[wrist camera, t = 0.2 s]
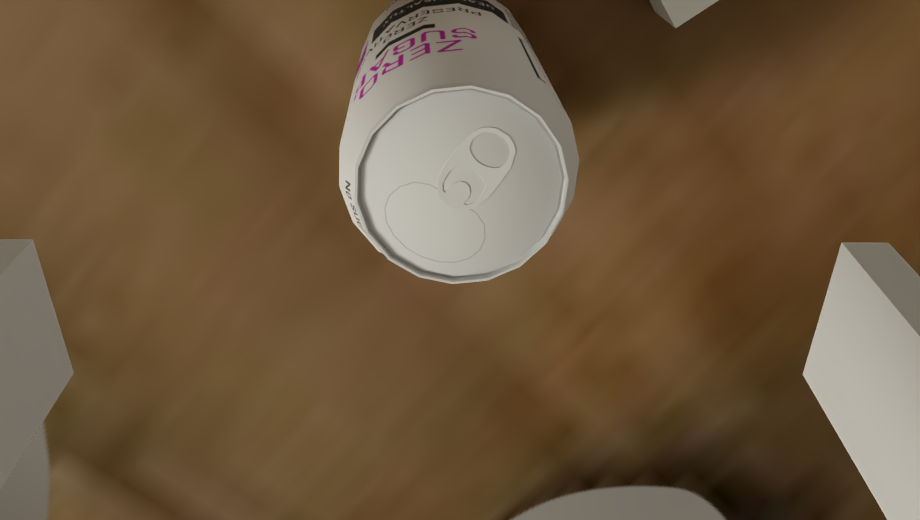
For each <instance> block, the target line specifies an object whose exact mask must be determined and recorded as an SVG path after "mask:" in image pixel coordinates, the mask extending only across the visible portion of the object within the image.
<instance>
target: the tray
mask: <svg viewBox="0 0 920 520" xmlns="http://www.w3.org/2000/svg"><path fill="white" fill-rule="evenodd" d="M717 1H719V0H649V2H650V4H651V6H652V8H653V9H654V11H655V13H657V14H658V15H659V16H661V17H662V18H663V19H664V20H666V21H667V22H668V23H670V24H671V25H672V26H673V27H675V28H677V27H679V26H680V25H682V24H683V23H685V22H686V21H688V20H689V19H691V18H692V17H694V16H696V15H697V14H699V13H700V12H702V11H703V10H705V9H706V8H708V7H709V6H711V5H712V4H714V3H715V2H717Z"/></svg>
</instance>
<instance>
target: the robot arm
mask: <svg viewBox="0 0 920 520" xmlns="http://www.w3.org/2000/svg"><path fill="white" fill-rule="evenodd" d="M73 373H74V372H73V369H72V366H71V362H70V359H69V356H68V353H67V349H66V346H65V343H64V340H63V336H62V333H61V330H60V327H59V323H58V320H57V317H56V314H55V310H54V307H53V304H52V301H51V297H50V294H49V291H48V288H47V284H46V281H45V278H44V275H43V271H42V268H41V265H40V262H39V258H38V255H37V252H36V249H35V245H34V242H33V239H0V489H1V487H2V486H3V484H4V482H5V481H6V480H7V478H8V476H9V475H10V473H11V472H12V470H13V469H14V467H15V465H16V464H17V462H18V461H19V459H20V457H21V456H22V454H23V453H24V451H25V449H26V448H27V446H28V445H29V443H30V442H31V440H32V438H33V437H34V435H35V434H36V432H37V430H38V429H39V427H40V426H41V424H42V423H43V421H44V419H45V418H46V416H47V415H48V413H49V411H50V410H51V408H52V407H53V405H54V403H55V402H56V400H57V399H58V397H59V396H60V394H61V392H62V391H63V389H64V388H65V386H66V384H67V383H68V381H69V380H70V378H71V377H72V375H73ZM803 376H804V377H805V379H806V381H807V383H808V384H809V386H810V388H811V389H812V391H813V393H814V395H815V396H816V398H817V400H818V401H819V403H820V405H821V407H822V408H823V410H824V412H825V413H826V415H827V417H828V419H829V420H830V422H831V424H832V425H833V427H834V429H835V431H836V432H837V434H838V436H839V438H840V439H841V441H842V443H843V444H844V446H845V448H846V450H847V451H848V453H849V455H850V456H851V458H852V460H853V462H854V463H855V465H856V467H857V468H858V470H859V472H860V474H861V475H862V477H863V479H864V480H865V482H866V484H867V486H868V487H869V489H870V491H871V492H872V494H873V496H874V498H875V499H876V501H877V503H878V504H879V506H880V508H881V510H882V511H883V513H884V515H885V516H886V518H887V520H920V276H919V275H918V274H917V273H916V272H915V271H914V270H913V269H912V268H911V267H910V266H909V264H908V263H907V262H906V261H905V260H904V259H903V258H902V257H901V256H900V255H899V254H898V253H897V252H896V250H895V249H894V248H893V247H892V246H891V245H890V244H889V243H841V247H840V250H839V253H838V257H837V260H836V263H835V267H834V270H833V274H832V277H831V280H830V284H829V287H828V291H827V294H826V297H825V301H824V304H823V307H822V311H821V314H820V318H819V321H818V324H817V328H816V331H815V335H814V338H813V341H812V345H811V348H810V351H809V355H808V358H807V362H806V365H805V368H804V372H803Z"/></svg>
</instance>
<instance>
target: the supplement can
mask: <svg viewBox="0 0 920 520" xmlns="http://www.w3.org/2000/svg"><path fill="white" fill-rule="evenodd" d="M578 166H579V157H578V152H577V147H576V143H575V138H574V133H573V129H572V124H571V121H570V119H569V117H568V115H567V113H566V111H565V109H564V108H563V106H562V104H561V102H560V100H559V98H558V96H557V94H556V92H555V90H554V89H553V87H552V85H551V83H550V81H549V79H548V77H547V75H546V73H545V72H544V70H543V68H542V66H541V64H540V62H539V60H538V58H537V56H536V54H535V53H534V51H533V49H532V47H531V45H530V43H529V41H528V39H527V37H526V35H525V34H524V32H523V31H522V29H521V28H520V26H519V25H518V23H517V22H516V20H515V19H514V17H513V16H512V14H511V13H510V11H509V9H507V8H506V7H505V6H503V5H502V4H501V3H499V2H498V1H496V0H394V1H393V2H392V3H391V4H390V5H389V6H388V7H387V8H386V9H385V11H384V12H383V13H382V14H381V15H380V16H379V17H378V18H377V19H376V20H375V21H374V23H373V24H372V27H371V29H370V32H369V34H368V37H367V39H366V42H365V44H364V47H363V49H362V52H361V56H360V61H359V65H358V69H357V74H356V78H355V82H354V86H353V91H352V95H351V99H350V104H349V108H348V112H347V117H346V121H345V125H344V129H343V134H342V138H341V142H340V157H339V187H340V189H341V192H342V195H343V197H344V200H345V203H346V205H347V208H348V211H349V213H350V216H351V219H352V221H353V223H354V224H355V225H356V226H357V227H358V229H359V230H360V231H361V232H362V233H363V234H364V235H365V237H366V238H367V239H368V240H369V241H370V242H371V243H372V245H373V246H374V247H375V248H376V249H377V250H378V251H379V252H381V253H383V254H384V255H385V256H386V257H387V259H388V260H390V261H391V262H393V263H395V264H397V265H398V266H400V267H402V268H404V269H405V270H407V271H409V272H411V273H412V274H414V275H416V276H418V277H421V278H426V279H431V280H436V281H441V282H445V283H450V284H458V283H468V282H477V281H487V280H490V279H492V278H495V277H497V276H499V275H502V274H504V273H506V272H509V271H511V270H513V269H516V268H518V267H520V266H521V265H522V264H524V263H525V262H526V261H527V260H528V259H529V258H530V257H532V256H533V255H534V254H535V253H536V252H537V251H538V250H540V249H541V248H542V247H543V246H544V245H545V244H546V243H547V241H548V240H549V238H550V236H551V235H552V234H553V233H554V232H555V230H556V228H557V226H558V225H559V223H560V221H561V219H562V218H563V216H564V214H565V212H566V211H567V209H568V207H569V205H570V203H571V202H572V200H573V196H574V190H575V184H576V178H577V172H578Z"/></svg>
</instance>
